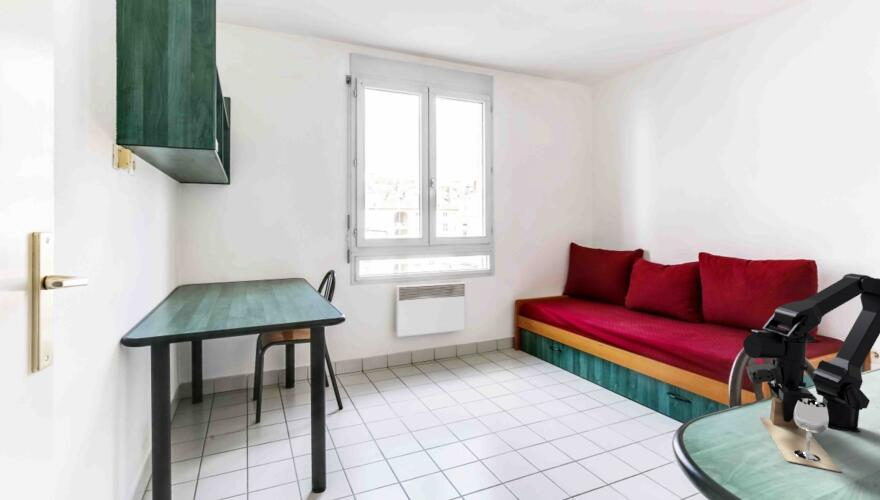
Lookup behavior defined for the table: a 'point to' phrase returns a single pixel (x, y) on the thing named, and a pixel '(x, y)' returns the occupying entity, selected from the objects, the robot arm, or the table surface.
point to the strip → (794, 439)
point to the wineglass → (810, 423)
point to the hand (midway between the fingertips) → (784, 418)
